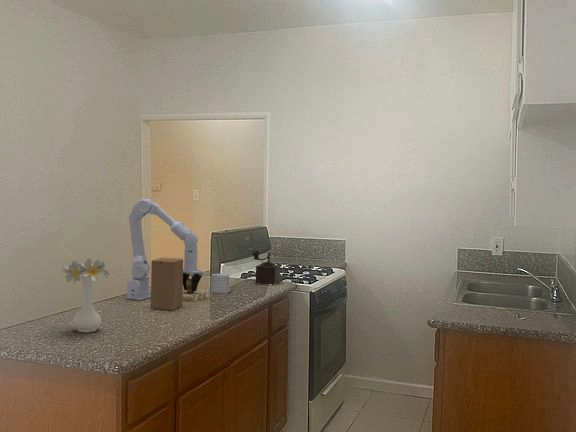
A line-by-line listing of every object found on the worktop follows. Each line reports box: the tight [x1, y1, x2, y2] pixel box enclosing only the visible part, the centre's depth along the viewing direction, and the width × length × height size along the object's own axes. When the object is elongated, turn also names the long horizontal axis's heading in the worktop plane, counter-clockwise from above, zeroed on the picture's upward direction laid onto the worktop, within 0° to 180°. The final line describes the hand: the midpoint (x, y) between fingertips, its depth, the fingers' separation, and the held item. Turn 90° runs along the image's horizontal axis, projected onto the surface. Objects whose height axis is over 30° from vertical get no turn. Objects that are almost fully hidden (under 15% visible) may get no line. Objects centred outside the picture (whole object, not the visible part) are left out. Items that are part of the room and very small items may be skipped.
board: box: [182, 288, 210, 303], centre depth 256 cm, size 14×12×2 cm
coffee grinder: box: [252, 249, 281, 286], centre depth 297 cm, size 16×11×18 cm
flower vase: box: [62, 257, 110, 333], centre depth 195 cm, size 13×18×25 cm
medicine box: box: [210, 273, 230, 294], centre depth 270 cm, size 8×4×9 cm, turn 84°
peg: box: [186, 278, 194, 293], centre depth 254 cm, size 4×4×6 cm
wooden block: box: [150, 257, 184, 311], centre depth 235 cm, size 10×10×20 cm
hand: (190, 290), depth 254 cm, fingers closed on peg, 4 cm apart
